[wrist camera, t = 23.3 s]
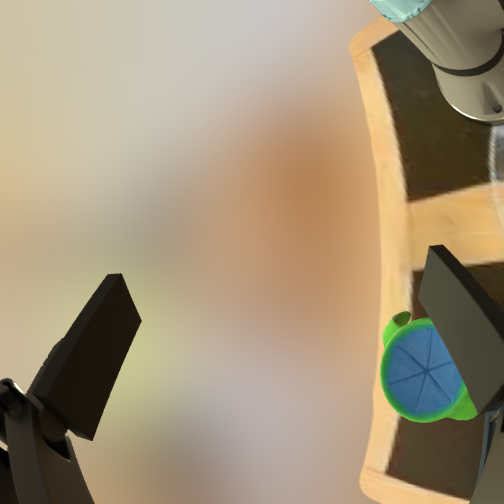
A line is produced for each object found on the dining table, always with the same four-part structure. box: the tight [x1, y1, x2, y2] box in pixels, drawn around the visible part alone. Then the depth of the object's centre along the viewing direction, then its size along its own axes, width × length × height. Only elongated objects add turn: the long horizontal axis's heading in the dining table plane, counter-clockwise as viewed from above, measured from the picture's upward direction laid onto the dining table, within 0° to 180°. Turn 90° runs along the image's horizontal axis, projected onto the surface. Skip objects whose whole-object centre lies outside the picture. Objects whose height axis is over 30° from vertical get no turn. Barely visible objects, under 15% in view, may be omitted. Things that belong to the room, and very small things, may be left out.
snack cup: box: [380, 311, 478, 422], centre depth 24 cm, size 16×10×10 cm
